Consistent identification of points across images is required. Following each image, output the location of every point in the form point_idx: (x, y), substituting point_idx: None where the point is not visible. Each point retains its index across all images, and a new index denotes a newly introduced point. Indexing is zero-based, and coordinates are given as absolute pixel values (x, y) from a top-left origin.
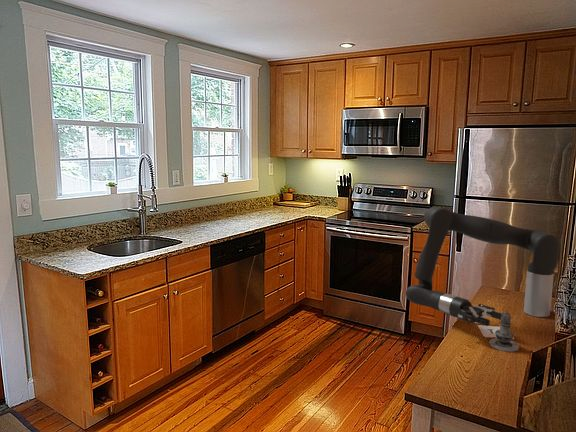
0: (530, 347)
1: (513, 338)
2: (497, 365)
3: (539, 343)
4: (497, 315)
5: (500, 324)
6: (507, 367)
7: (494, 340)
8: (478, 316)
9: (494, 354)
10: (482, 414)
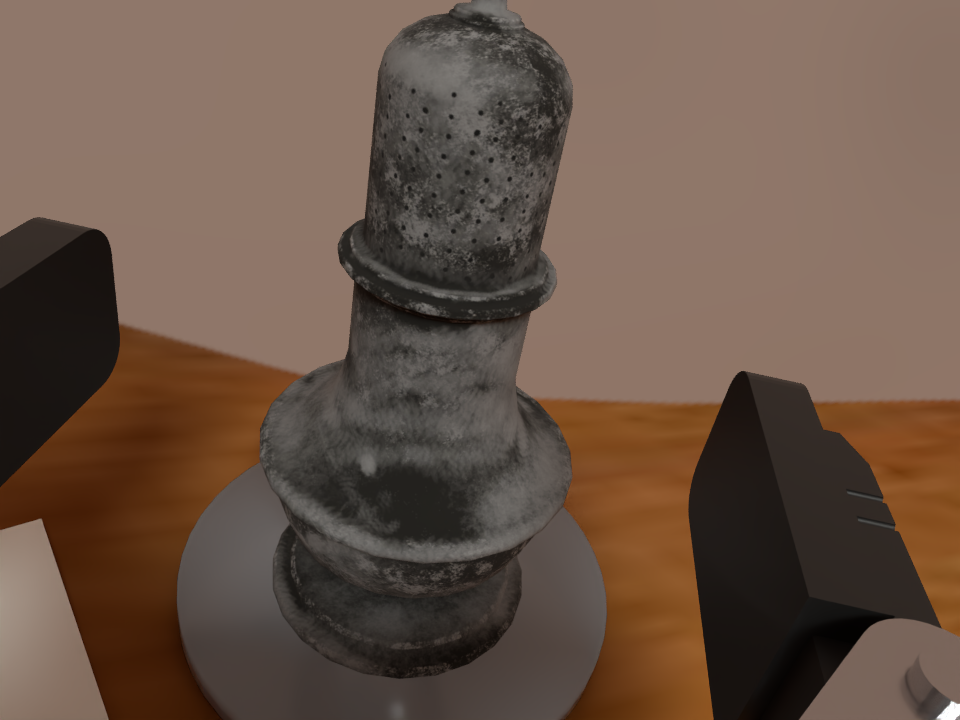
0: (243, 381)
1: (35, 528)
2: (957, 538)
3: None
4: (31, 353)
5: (500, 331)
6: (884, 471)
7: (366, 704)
8: (890, 623)
9: None
10: None
